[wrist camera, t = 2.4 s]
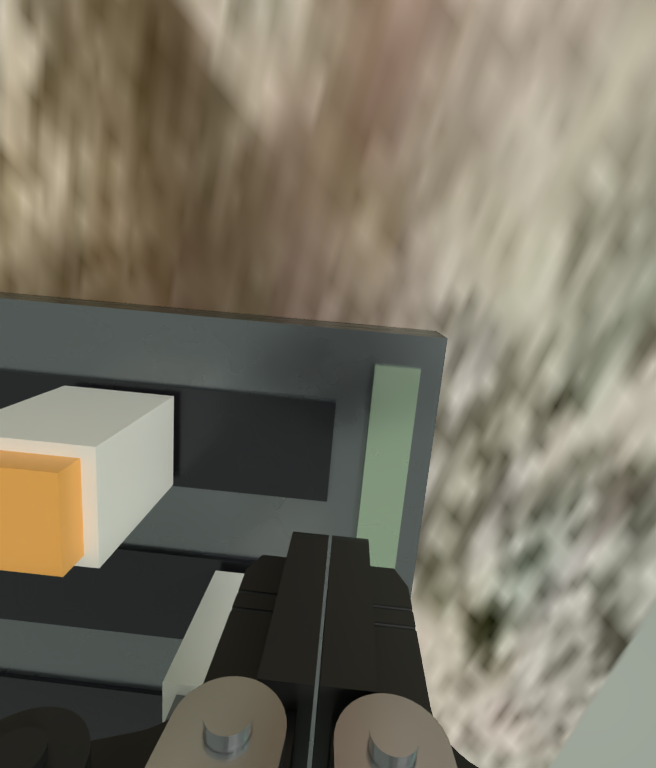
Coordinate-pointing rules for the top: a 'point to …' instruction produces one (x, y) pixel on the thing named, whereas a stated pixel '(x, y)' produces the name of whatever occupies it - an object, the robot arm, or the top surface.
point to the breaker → (200, 641)
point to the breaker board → (211, 479)
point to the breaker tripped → (79, 475)
